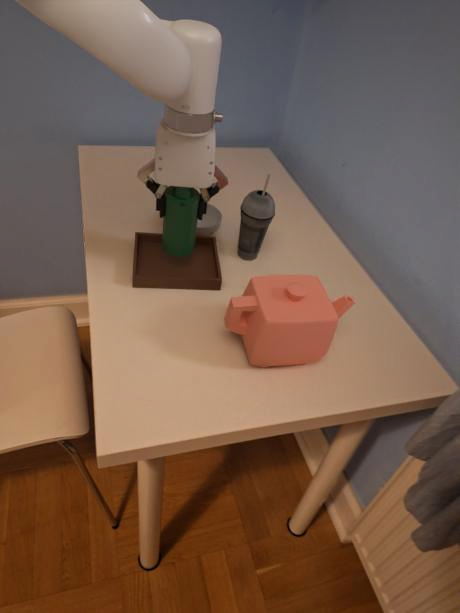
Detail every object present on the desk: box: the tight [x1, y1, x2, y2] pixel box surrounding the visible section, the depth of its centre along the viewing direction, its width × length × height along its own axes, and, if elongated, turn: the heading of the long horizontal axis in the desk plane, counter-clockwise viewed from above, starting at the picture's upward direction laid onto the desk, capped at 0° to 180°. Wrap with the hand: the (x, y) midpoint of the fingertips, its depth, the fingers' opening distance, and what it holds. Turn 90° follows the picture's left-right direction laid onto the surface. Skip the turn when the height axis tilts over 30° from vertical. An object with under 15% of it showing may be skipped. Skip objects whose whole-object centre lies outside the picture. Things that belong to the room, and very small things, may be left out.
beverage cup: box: [236, 174, 276, 261], centre depth 84 cm, size 7×7×20 cm
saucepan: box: [196, 202, 223, 236], centre depth 96 cm, size 11×18×4 cm, turn 13°
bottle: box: [161, 186, 201, 257], centre depth 75 cm, size 6×6×16 cm
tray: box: [131, 231, 223, 291], centre depth 83 cm, size 17×14×3 cm
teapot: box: [223, 274, 356, 369], centre depth 69 cm, size 22×13×14 cm, turn 101°
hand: (180, 214), depth 76 cm, fingers closed on bottle, 6 cm apart
